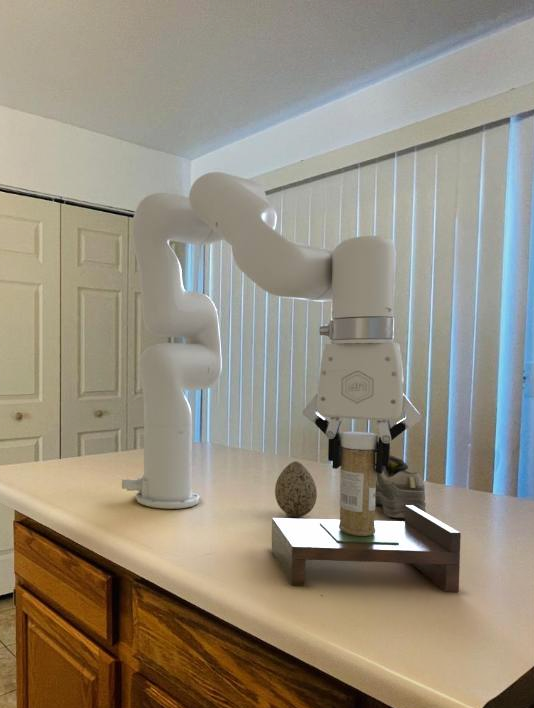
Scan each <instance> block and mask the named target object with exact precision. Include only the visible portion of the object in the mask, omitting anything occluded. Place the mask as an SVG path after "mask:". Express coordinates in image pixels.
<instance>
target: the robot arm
mask: <svg viewBox="0 0 534 708" xmlns="http://www.w3.org/2000/svg"><path fill="white" fill-rule="evenodd" d="M277 221H278V217H277V211H276V210H275V208H274V206H273V205H272V204H271V203H269V202H268V197H267V194H266V191H265V190H264V188H263V187H262V186H261V185H260V184H259V183H257V182H256V181H254V180H252V179H248V178H244V177H241V176H236V175H232V174H229V173H225V172H219V171H212V172H207V173H205V174H203V175H201V176H199V177H198V178H196V180H195V181H194V182H193V183H192V185H191V187H190V189H189V193H188V196H184V195H179V194H175V193H169V192H157V193H151V194H149V195H146V196H145V197H144V198H143V199H141V201H140V202H139V203H138V204H137V207H136V209H135V211H134V214H133V218H132V223H131V240H132V241H131V242H132V246H133V251H134V254H135V259H136V262H137V266H138V267H137V268H138V275H139V289H140V299H141V301H140V303H141V313H142V321H143V325H144V328H145V330H146V331H147V332H148V333H149V334H150V335H152V336H155V337H163V338H183V340H184V342H161V343H155V344H153V345H150V346H149V347H147V348H146V349H145V350H143V352H142V354H141V356H140V357H139V361H138V373H139V378H140V385H141V388H142V389H141V390H142V397H143V398H142V399H143V474H142V478H141V477H138V478H137V479H125V478H124V479H123V478H122V479H121V489H122V490H126V491H127V492H129V491H130V492H133V491H136V494H135V498H136V499H135V500H136V501H137V503H139V504H141V505H143V506H146V507H150V508H155V509H164V510H165V509H166V510H167V509H168V510H173V509H175V510H177V509H186V508H191V507H194V506H197V505H198V504H199V503H200V495H199V494H198V493H197V492H195V491H193V490H192V477H193V476H192V473H193V469H192V468H193V467H192V466H193V464H192V463H193V461H192V458H193V457H192V456H193V450H192V449H193V414H192V408H191V406H190V402H189V401H188V399H187V397H186V394H185V392H184V391H198V390H199V391H200V390H207V389H210V388H213V387H214V386H215V385H216V384H217V383H218V382H219V380H220V377H221V375H222V369H223V357H222V346H221V335H220V333H221V332H220V323H219V315H218V309H217V308H216V305H215V303H214V301H213V300H212V299H211V297H209V296H208V295H207V294H205V293H202V292H199V291H191V290H186V289H185V287H184V282H183V281H184V280H183V270H182V266H181V262H180V260H179V258H178V255H177V254H176V252H175V251H174V249H173V248H172V247H171V245H170V241H171V242H178V243H184V244H191V245H196V246H197V245H198V246H208V245H212V244H215V243H218V242H220V241H223V240H224V241H226V243H228V244H229V245H230V246H231V253H232V256H233V260H234V262H235V265H236V266H237V268H238V269H239V270H240V271H241V272H242V273H243V274H244V275H245V276H246V277H247V278H248V279H250V280H251V281H252V282H253V283H254V284H256V285H257V286H258V287H259V288H260V289H262V290H263V291H265V292H267V293H268V294H270V295H272V296H275V297H278V298H285V299H295V300H304V301H311V302H312V301H313V302H331V308H330V309H331V310H330V311H331V313H330V319H331V320H329V322H328V324H325V325H320V326H319V330H318V331H319V336H325V337H328V338H329V340H330V343H324V344H323V347H322V351H321V357H320V362H319V363H320V364H319V372H318V381H317V393H316V394H315V396H314V397H313V398H312V399H311V400H310V402H309V403H308V404H307V405H306V406H305V408H304V409H303V410H302V415H303V416H304V417H305V418H307V419H308V420H309V421H311V422H312V423H313V424H315V425H316V427H317V428H318V429H319V430H320V431H321V432H322V433H323V434H324V435H325V437H326V438H327V439H328V440H327V441H328V442H327V443H328V445H327V446H328V447H327V460H328V461H329V462H332V463H331V464H332V466H331V467H332V469H339V468H341V452H342V450H341V446H340V435H341V433H340V429H341V426H342V422H343V419H346V420H347V419H349V420H365V421H376V425H377V429H378V433H379V437H378V442H377V444H376V457H375V458H376V461H375V462H376V466H375V468H376V472H377V473H381V474H382V472H383V470H384V466H386V467H389V462H390V455H391V442H393V440H394V439H396V438H397V437H398V436H399V435H401V434H402V433H403V432H404V431H406V430H408V429H410V428H412V427H413V426H415V425H417V424H418V423H420V422H421V421H422V419H423V415H421V413H420V412H419V411H418V410H417V408H416V407H415V406H414V405H413V403H411V401H410V400H409V399H408V398H407V396H406V395H405V393H404V369H403V359H402V352H401V351H402V350H401V347H400V343H399V342H394V330H395V329H394V328H395V327H394V326H395V319H394V318H395V294H396V293H395V292H396V291H395V290H396V289H395V288H396V257H397V256H396V251H397V250H396V244H395V242H394V241H393V240H392V239H391V238H389V237H387V236H382V235H363V236H355V237H349V238H347V239H344V240H341V241H340V242H338V243H337V244H336V245H335V246H334V248H333V249H332V248H325V247H320V246H314V245H310V244H305V243H297V242H294V241H291V240H290V239H288V238H287V237H285V236H283V234H281V233H279V232H278V231H276V230H275V229H276V225H277ZM402 413H404V414H405V418H403V419H401V420H399V421H397V422H396V423H395V424H393V425H391V422H390V421H393V420H395V419H397V418H399V417H400V416H401V415H402ZM325 417H326V418H325ZM327 418H329V421H328V420H327Z"/></svg>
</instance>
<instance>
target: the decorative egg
mask: <svg viewBox="0 0 534 708" xmlns="http://www.w3.org/2000/svg"><path fill="white" fill-rule="evenodd" d="M274 496H275V501H276V503H277V505H278V507H279V508H280V510H282V512H284V513H285V514H287V515H289V516H290V517H294V518H295V517H296V518H299V517H300V518H301V517H303V516H306V515H307V514H310V512H311V511H312V510H313V509H314V507H315V505H316V502H317V497H318V491H317V486H316V483H315V480H314V478H313V476H312V474H311V473H310V472H309V470H308V468H307V467H306V466H304V465H303V464H302V463H301V462H300V461H292V462H290V463H288V465H287V466H285V467H284V468H283V469H282V471H281V472H280V474H279V475H278V477H277V479H276V482H275V487H274Z"/></svg>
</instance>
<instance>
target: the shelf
mask: <svg viewBox="0 0 534 708" xmlns="http://www.w3.org/2000/svg"><path fill="white" fill-rule="evenodd" d="M339 524H340V519H327V518H326V519H325V518H293V517H292V518H291V517H290V518H288V517H286V518H285V517H272V518H271V548H270V551H271V553H272V554H273V556H274V558H275V560H276V561H277V563H278V565H279V567H280V568H281V570H282V571H283V573H284V575H285V577H286V578H287V580H288V582H289V584H290V585H291V586H295V587H305V585H306V584H305V582H306V581H305V580H306V579H305V578H306V560H308V561H334V562H335V561H337V562H338V561H339V562H340V561H341V562H365V563H366V562H367V563H392V564H393V563H396V564H411V565H412V566H414V567H415V568H416V569H417V570H418V571H420V572H421V573H422V574H423V575H424V576H426V577H427V578H428V579H429V580H430V581H432V582H433V583H434V584H436V585H437V586H438V587H439V588H441V589H442V590H443V591H444V592H445V593H446V592H448V593H459V592H460V567H461V565H460V564H461V562H460V561H461V538H462V537H461V536H462V534H461V532H460V531H458V530H457V529H455V528H453V527H452V526H450V525H447V524H446V523H444V522H442V521H441V520H439V519H438V518H436V517H435V516H433V515H430V514H428V513H427V512H426V513H425V512H424V511H422V510H420V509H418V508H417V507H415V506H413V505H405V518H404V521H397V520H375V522H374V526H375V533H374V534H373V535H370V536H355V535H351V534H347V533H344V532H343V531H341V530H340V529H339Z"/></svg>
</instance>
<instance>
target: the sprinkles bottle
mask: <svg viewBox="0 0 534 708" xmlns="http://www.w3.org/2000/svg"><path fill="white" fill-rule="evenodd" d="M378 441H379V437H378V434H376V433H373V432H366V431H343V432H341V433H340V446H341V450H342V452H341V466H340V471H339V472H340V473H339V520H340V524H339V529H340V530H341V531H343V532H344V533H347V534H351V535H355V536H370V535H373V534H374V533H375V526H374V522H375V521H376V520H375V512H376V505H375V491H376V477H375V468H376V466H375V465H376V444H377V442H378Z"/></svg>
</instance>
